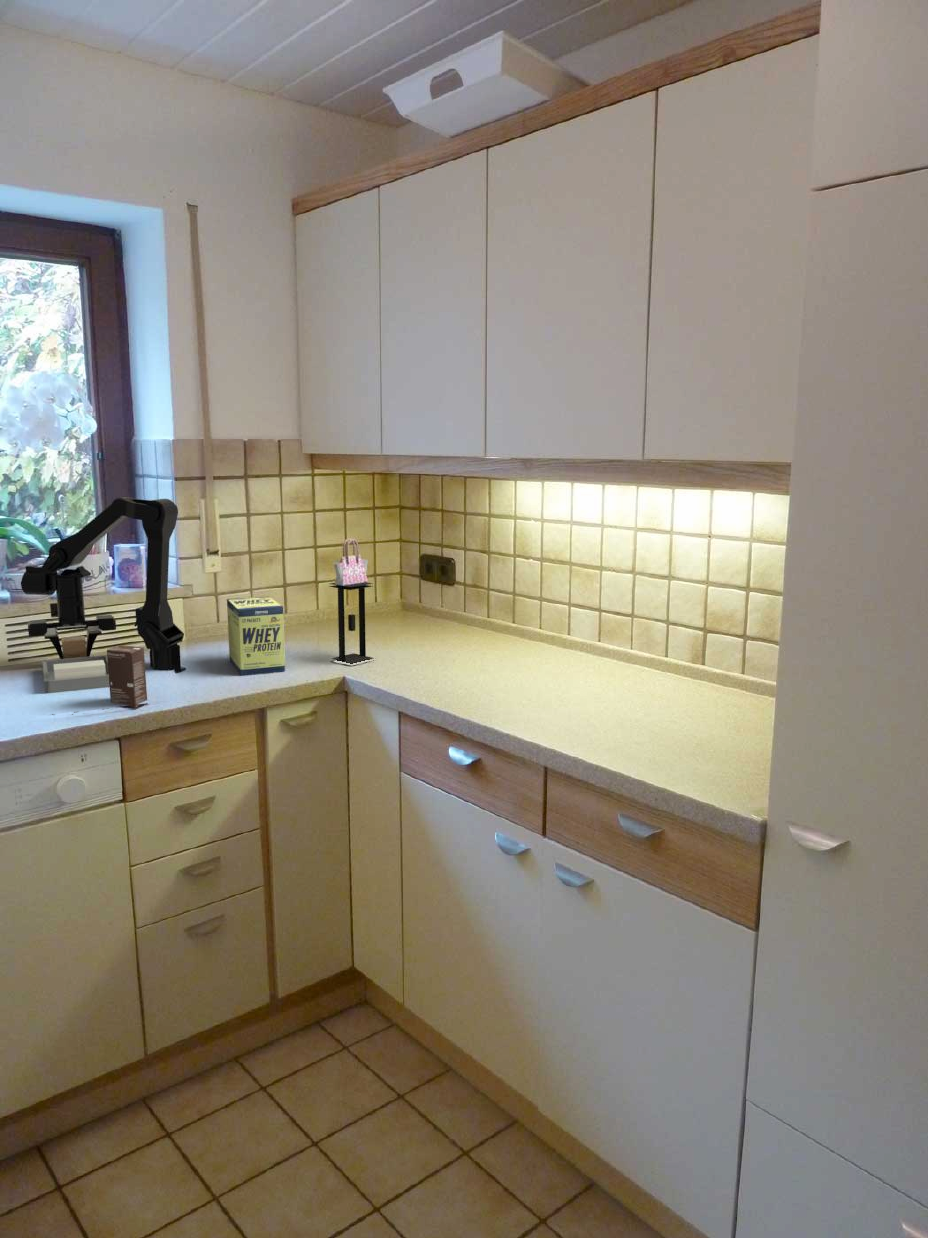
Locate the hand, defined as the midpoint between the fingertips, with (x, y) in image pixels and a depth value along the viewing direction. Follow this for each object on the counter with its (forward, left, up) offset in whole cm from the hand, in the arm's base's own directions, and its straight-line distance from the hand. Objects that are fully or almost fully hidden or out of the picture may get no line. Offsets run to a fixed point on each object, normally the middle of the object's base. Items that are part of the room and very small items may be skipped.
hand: (75, 661), depth 217 cm
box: (-35, +16, -2) cm, 39 cm away
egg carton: (-17, +13, 0) cm, 21 cm away
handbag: (-53, -37, -2) cm, 65 cm away
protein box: (-36, -22, -2) cm, 42 cm away
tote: (-12, +9, -2) cm, 15 cm away
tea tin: (0, 0, -2) cm, 2 cm away
